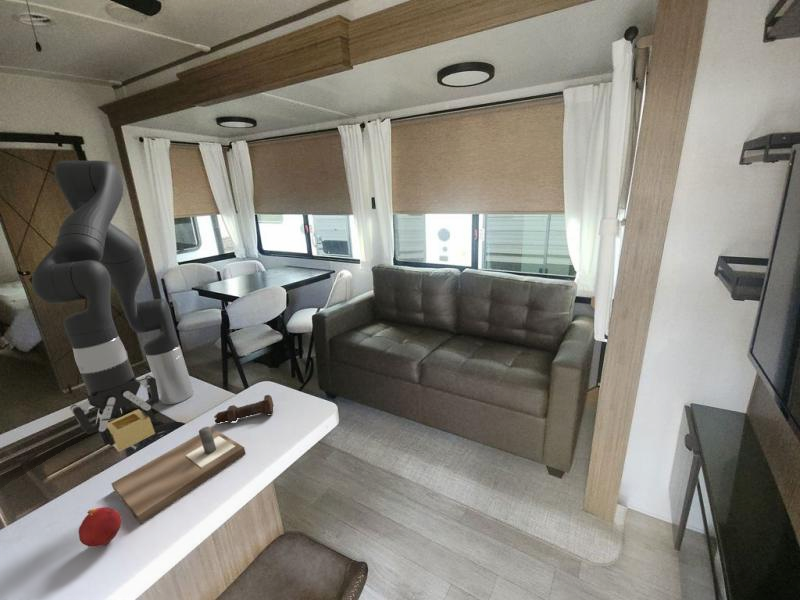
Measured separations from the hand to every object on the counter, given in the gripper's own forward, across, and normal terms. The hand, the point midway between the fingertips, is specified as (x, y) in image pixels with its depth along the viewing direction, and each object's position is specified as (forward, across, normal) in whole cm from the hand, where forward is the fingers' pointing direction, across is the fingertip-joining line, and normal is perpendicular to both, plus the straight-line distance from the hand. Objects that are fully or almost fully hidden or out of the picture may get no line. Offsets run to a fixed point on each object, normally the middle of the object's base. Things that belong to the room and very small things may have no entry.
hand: (130, 433), depth 74 cm
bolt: (+14, -26, -4) cm, 30 cm away
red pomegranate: (+14, +10, +9) cm, 19 cm away
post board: (+13, -6, +2) cm, 15 cm away
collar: (+1, 0, 0) cm, 1 cm away
